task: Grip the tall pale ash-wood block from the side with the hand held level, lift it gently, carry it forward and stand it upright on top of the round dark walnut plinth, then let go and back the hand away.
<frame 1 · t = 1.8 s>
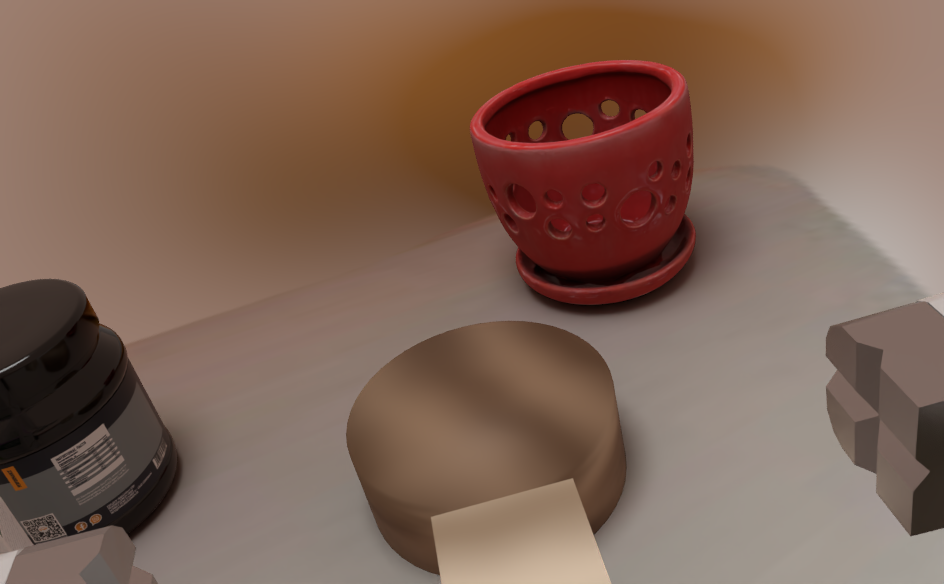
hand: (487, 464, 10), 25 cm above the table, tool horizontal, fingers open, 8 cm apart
plant pot: (602, 267, 60), on the table
supplement container: (95, 502, 51), on the table
walnut plinth: (498, 476, 46), on the table
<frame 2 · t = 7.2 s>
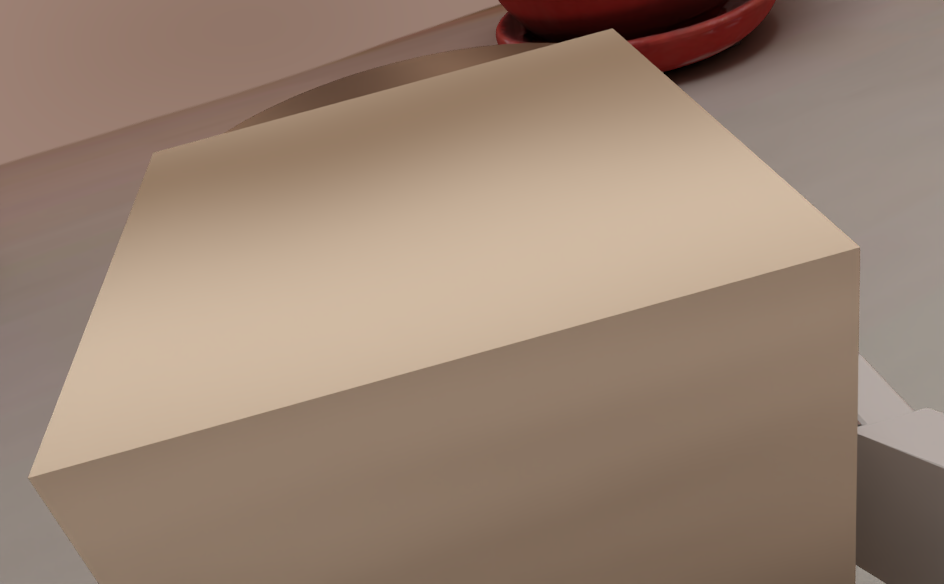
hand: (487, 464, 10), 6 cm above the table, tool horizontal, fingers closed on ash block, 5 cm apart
plant pot: (630, 48, 39), on the table
walnut plinth: (452, 307, 25), on the table
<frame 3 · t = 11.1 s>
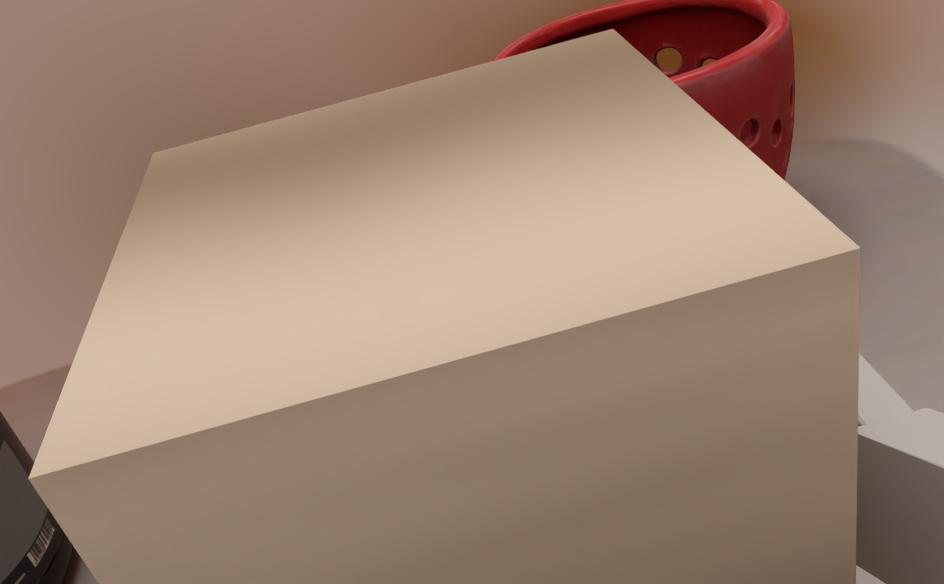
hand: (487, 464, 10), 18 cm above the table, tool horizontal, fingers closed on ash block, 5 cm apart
plant pot: (660, 271, 45), on the table
when the fingers open (12 cm above the table, at t = 14.7 s): ash block drops 2 cm, resting on walnut plinth.
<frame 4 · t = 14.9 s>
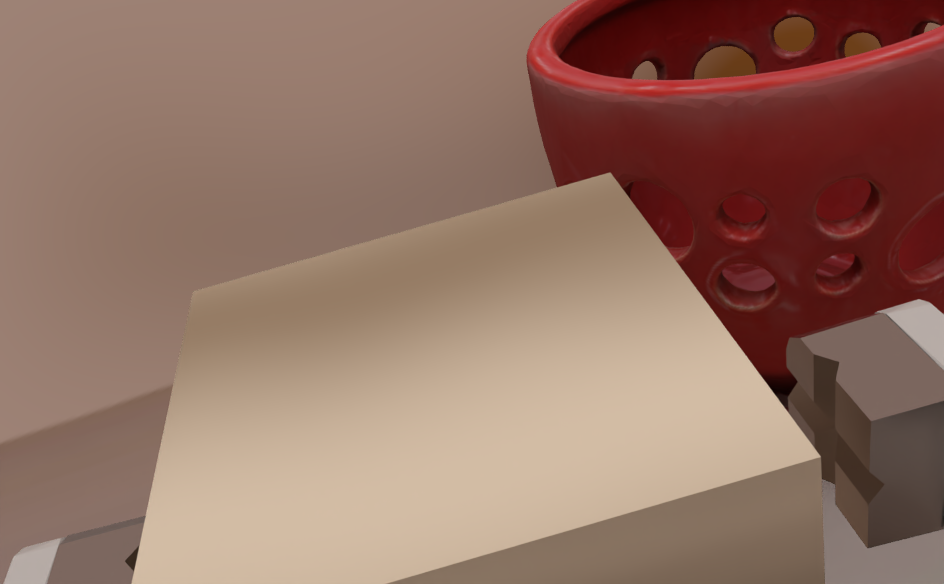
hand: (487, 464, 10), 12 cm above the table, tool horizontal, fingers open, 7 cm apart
plant pot: (780, 348, 30), on the table
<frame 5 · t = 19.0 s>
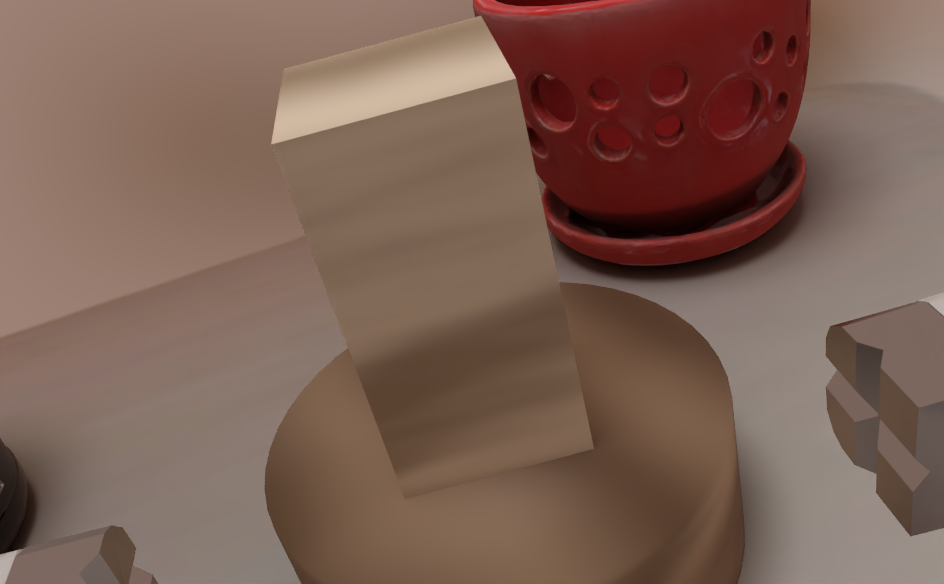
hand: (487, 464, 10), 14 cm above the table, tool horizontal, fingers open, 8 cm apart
plant pot: (665, 216, 42), on the table
ash block: (485, 413, 25), point 5 cm above the table, touching walnut plinth
walnut plinth: (524, 535, 28), on the table, touching ash block
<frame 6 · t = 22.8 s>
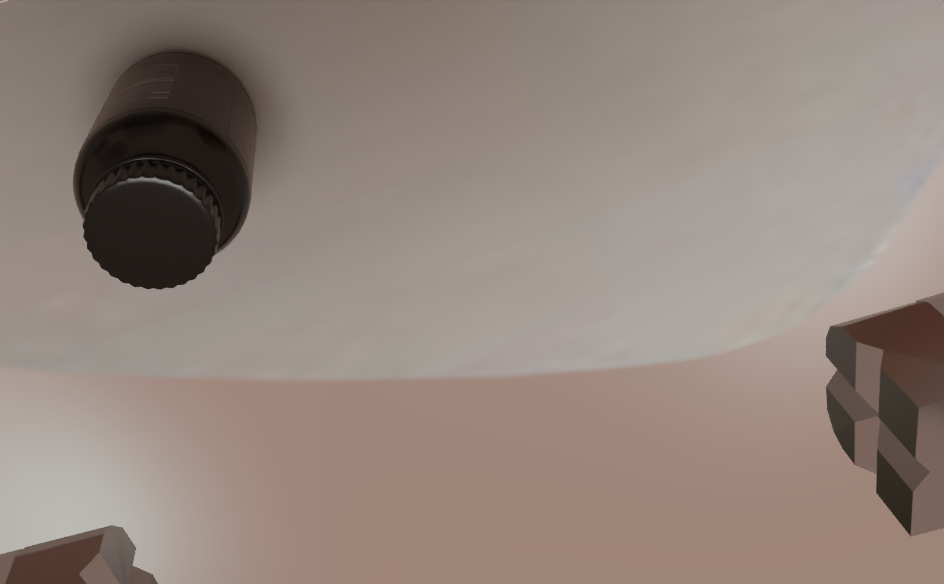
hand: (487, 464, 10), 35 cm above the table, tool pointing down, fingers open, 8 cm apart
supplement bottle: (186, 119, 43), on the table
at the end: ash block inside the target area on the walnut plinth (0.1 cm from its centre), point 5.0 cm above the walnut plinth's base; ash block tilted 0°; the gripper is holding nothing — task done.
